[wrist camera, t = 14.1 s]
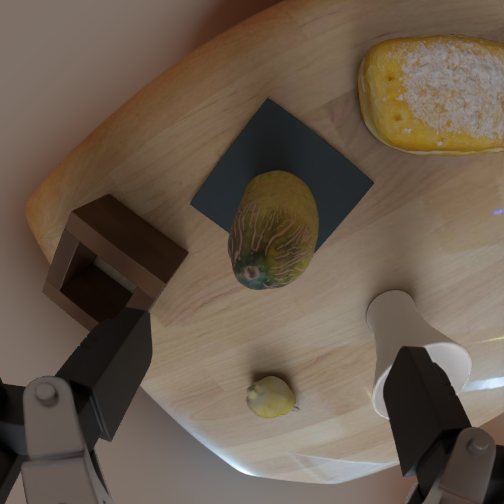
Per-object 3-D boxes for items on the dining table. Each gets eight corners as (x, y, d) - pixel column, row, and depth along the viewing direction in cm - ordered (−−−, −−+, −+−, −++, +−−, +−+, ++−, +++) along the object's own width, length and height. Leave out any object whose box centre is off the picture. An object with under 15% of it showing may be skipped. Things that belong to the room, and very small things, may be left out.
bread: (337, 45, 27) (352, 23, 20) (521, 45, 22) (559, 38, 15) (367, 167, 32) (390, 180, 24) (540, 144, 27) (579, 153, 20)
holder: (75, 265, 40) (42, 292, 32) (109, 193, 35) (71, 211, 28) (144, 317, 41) (120, 353, 34) (188, 252, 37) (166, 284, 30)
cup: (337, 335, 39) (352, 416, 27) (372, 264, 35) (408, 332, 23) (403, 351, 40) (433, 424, 27) (441, 287, 36) (490, 351, 23)
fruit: (284, 413, 46) (231, 391, 43) (309, 386, 45) (256, 360, 42) (296, 437, 40) (238, 417, 37) (323, 409, 40) (266, 384, 37)
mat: (190, 203, 35) (189, 204, 35) (268, 98, 30) (267, 97, 30) (291, 277, 37) (291, 278, 37) (373, 182, 32) (374, 183, 32)
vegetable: (281, 150, 32) (278, 179, 13) (322, 195, 33) (367, 283, 14) (238, 188, 33) (180, 268, 15) (278, 232, 35) (270, 352, 16)
